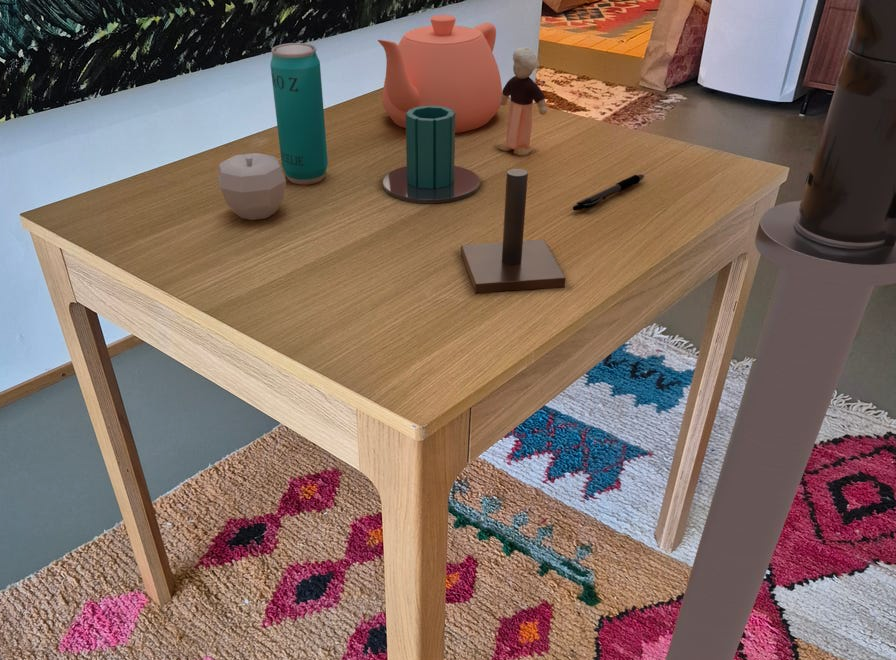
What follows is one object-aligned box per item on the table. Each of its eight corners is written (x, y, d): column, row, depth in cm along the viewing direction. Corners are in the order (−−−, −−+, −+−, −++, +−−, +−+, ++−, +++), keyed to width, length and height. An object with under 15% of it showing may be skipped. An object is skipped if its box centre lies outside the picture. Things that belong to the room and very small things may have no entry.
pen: (581, 216, 95) (582, 206, 94) (569, 212, 96) (570, 202, 95) (650, 182, 103) (651, 173, 102) (638, 179, 103) (640, 170, 103)
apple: (213, 227, 94) (202, 168, 90) (232, 199, 100) (224, 144, 96) (281, 229, 94) (274, 171, 89) (297, 202, 100) (291, 146, 95)
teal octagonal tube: (457, 173, 105) (458, 107, 99) (448, 190, 101) (449, 121, 95) (413, 170, 106) (412, 104, 101) (403, 187, 102) (401, 118, 96)
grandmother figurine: (486, 149, 113) (491, 46, 104) (501, 141, 115) (506, 40, 107) (537, 160, 109) (545, 55, 101) (550, 152, 112) (560, 48, 103)
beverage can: (299, 167, 108) (286, 40, 99) (337, 173, 107) (327, 45, 97) (274, 182, 105) (258, 51, 95) (313, 189, 103) (301, 56, 93)
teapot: (427, 155, 111) (427, 45, 103) (338, 129, 120) (330, 25, 111) (533, 109, 126) (541, 9, 117) (447, 89, 134) (448, -6, 125)
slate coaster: (486, 170, 107) (487, 166, 106) (470, 207, 98) (470, 203, 98) (396, 164, 109) (396, 160, 109) (371, 199, 100) (371, 195, 100)
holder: (543, 247, 89) (552, 153, 83) (564, 287, 82) (576, 187, 76) (460, 253, 89) (463, 158, 82) (475, 293, 82) (479, 192, 75)
